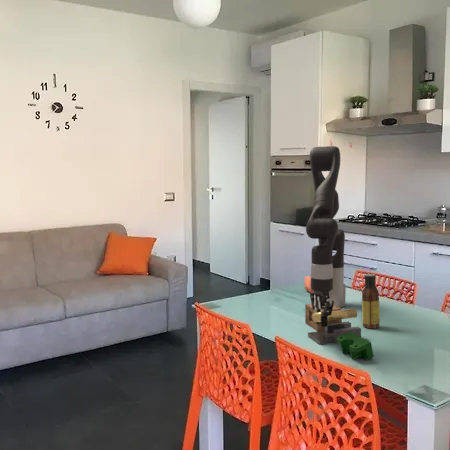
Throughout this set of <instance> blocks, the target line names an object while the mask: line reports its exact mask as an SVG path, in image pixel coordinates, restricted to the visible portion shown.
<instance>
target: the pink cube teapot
mask: <svg viewBox="0 0 450 450" xmlns="http://www.w3.org/2000/svg"><path fill="white" fill-rule="evenodd" d="M304 290H306V291H307V292H309V293H314V291H313V290H312V289H311V275H310V276H309V275H308V276H307V275H306V276H304Z"/></svg>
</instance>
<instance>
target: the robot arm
mask: <svg viewBox="0 0 450 450" xmlns="http://www.w3.org/2000/svg"><path fill="white" fill-rule="evenodd" d="M309 164H310V169H311V173H312V175H311V176H312V180H313V189H314V190H313V191H314V196H313V206H312V211H311V214H310V216H309V218H308V220H307V223H306V226H305V227H306V228H305V233H306V235H307V236H308V238H309V239H314V240H316V239H317V240H318V245H314V246H312V248H311V262H310V264H311V266H310V276H311V289H312V290H313V291H314V293H311V292H309V296H310V304H312V309H313V310H315V313H318V312H321V322H316V323H317V324H321V326H322V327H326V326H327V317H328V316H329V315H331V313H332V309H333V305H336V306H338V307H340V308H343V307H346V296H347V295H346V292H347V291H346V290H347V289H346V284H345V283H344V280H345V279H344V278H345V261H344V260H345V258H344V257H345V255H344V254H345V243H346V240H345V239H346V234H345V231H344V230H343V229H341V228H339V224H338V222H337V220H336V219H335V216H337V214H338V213H339V209H340V201H339V200H340V199H339V193H338V192H337V190H336V188H337V185H338V184H337V183H338V179H339V172H340V168H341V151H340V149H339V147H338V146H333V145H332V146H330V145H329V146H314V147H312V148H311V149H310V152H309ZM323 172H328V174H327V176H326V177H325V175H324V173H323ZM333 252H335V254H333ZM323 306H325V307H323ZM323 310H324V312H323ZM328 311H329V312H328Z"/></svg>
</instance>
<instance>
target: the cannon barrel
mask: <svg viewBox="0 0 450 450" xmlns="http://www.w3.org/2000/svg"><path fill="white" fill-rule="evenodd" d="M328 312H329V311H328ZM357 317H358V311H357V310H356V308H346V309H342V310H336V311H332V313H331V315H329V316H328V317H327V321H330V320H339V319H342V320H346V319H353V318H354V319H355V318H357ZM312 321H313V322H321V312H318V313H312Z"/></svg>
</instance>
